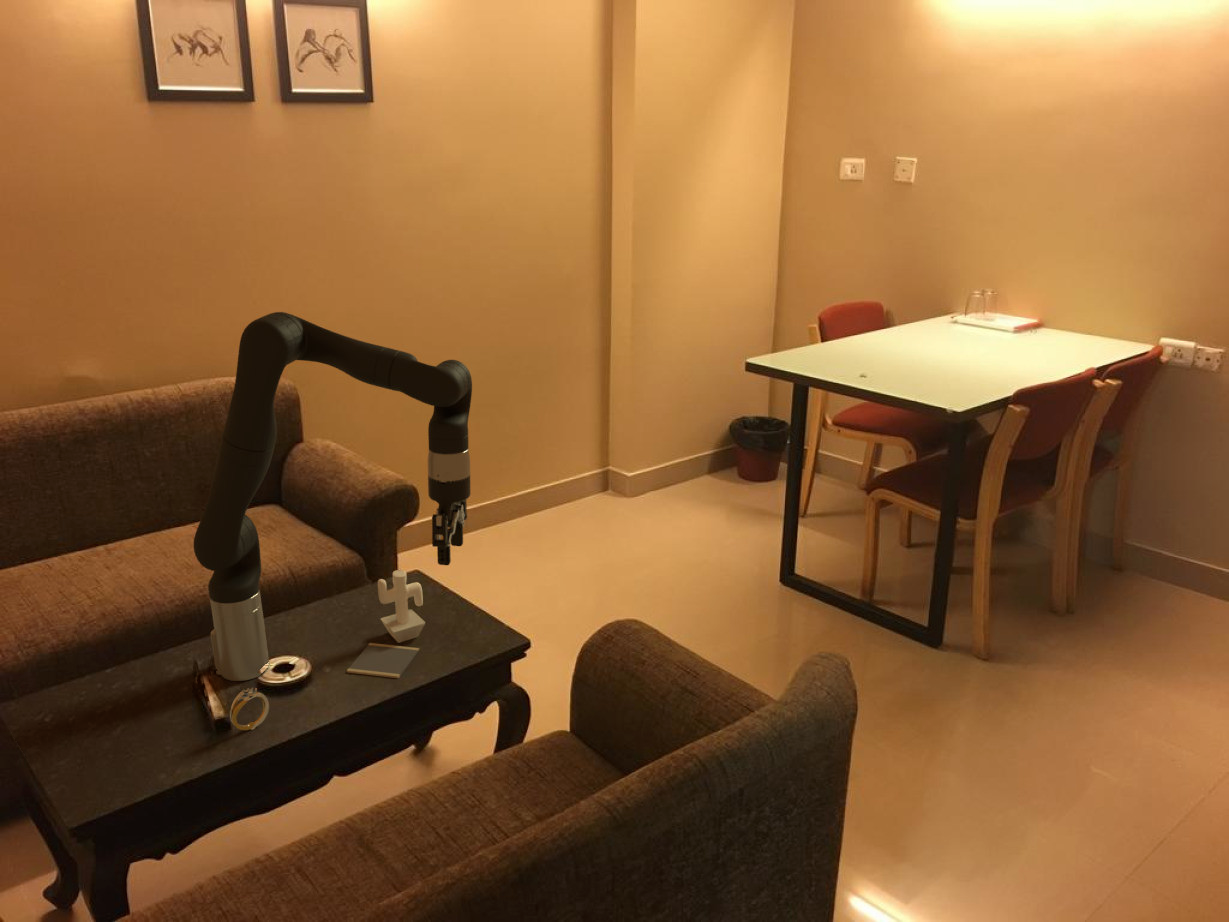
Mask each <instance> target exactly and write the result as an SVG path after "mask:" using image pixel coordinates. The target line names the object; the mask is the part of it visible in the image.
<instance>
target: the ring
mask: <svg viewBox="0 0 1229 922" xmlns="http://www.w3.org/2000/svg"><path fill="white" fill-rule="evenodd" d="M257 689H258V688H256V687H255V688H254V687H251V688H249V687H248V688H247V689H244V688H243V689H241V690H242V691H240V692H239V693H238V694H237V695H236V697H235V698H234V700H233V702H232V704H231V707H230V710H229V718H230V721H231V723H232V725H233V726H234V727H235V728H237V729H238V730H241V731H248V730H251V731H252V730H255V729H256V728H257V727H258V726H260V725H261V724H262V723H263V722H264V720H265V719H266V718H267V716H268V714H269V712H270V711H269V710H270V703H269V700H268V698H267V696H266V695H264V693H262V692H259V691H257ZM253 690H254V691H253ZM253 698H259V699H260V701H261V702H262V705H263V706H262V707H263V708H262V712H261V714H260V715H259V717H258V718H257V719H256V720H255V721H254V722H253V721H251V722H249V723H248V724H246V725H243V724H239V723H238V721H237V719H238V718H237V717H238V714H239V712H240V711H241V709H242V708H243V707H244V706H245V705H246V704H247V703H248V701H250V700H252V699H253ZM240 700H242V701H240ZM239 701H240V702H239Z"/></svg>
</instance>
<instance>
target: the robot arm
mask: <svg viewBox="0 0 1229 922" xmlns="http://www.w3.org/2000/svg"><path fill="white" fill-rule="evenodd" d="M295 361H303V362H304V361H305V362H314V363H320V364H323V365H327V366H330V367H333V368H335V369H337V370H339V371H340V372H343V373H345V374H346V375H348V376H350V377H351V378H354V379H355V380H357V381H359V382H362V383H365V384H367V385H371V386H375V387H377V388H382V389H386V390H390V391H395V392H400V393H402V394H404V395H406V396H408V397H410V398H412V399H414V400H416V401H419V402H421V403H424V404H426V405H428V406H433V412H432V415H431V417H430V420H429V422H428V428H427V431H428V432H427V433H428V435H427V436H428V438H427V439H428V454H427V481H428V482H427V487H428V490H427V491H428V493H427V494H428V498H430V500H432V501H433V502H436V503H437V504H438V507H437V508H436V511H435V514H432V516H431V525H432V526H431V527H432V528H431V531H432V532H431V533H432V534H431V535H432V536H431V539H432V541H431V545H432V547H435V548H436V547H437V548H436V549H437V552H436V553H437V554H436V555H437V564H438V565H440V566H450V563H451V562H452V561H451V546H453V547H462V546H463V545H464V528H463V527H465V524H466V523H465V521H467V519H468V513H467V511H468V510H467V508H468V507H467V499H469V498H470V496H471V458H470V449H469V426H468V425H469V424H468V423H469V416H470V412H471V403H472V397H473V395H472V394H473V380H472V375H471V373H470V370H469V368H468V367H467V366H466V365H465V364H464V363H463V362H462V361H459V360H456V359H447V360H444V361H442V362H440V363H439V364H437V365H435V366H434V365H432V364H431V365H430V364H428V363H427V364H426V363H424V362H420V361H418V359H417V358H416V356H415V355H413V354H411V353H409V352H406V351H402V350H398V349H394V348H392V347H391V348H390V347H386V346H382V345H378V344H374V343H370V342H368V341H367V342H366V341H361V340H359V339H356V338H353V337H349V336H347V335H346V336H345V335H343V334H341V333H337V332H334V331H333V330H329V329H327V328H325V327H321V326H319V325H317V324H315V323H313V322H310V321H308V320H306V319H304V318H301V317H298V316H296V315H294V314H291V313H287V312H284V311H275V312H271V313H268V314H266V315H263V316H260V317H259V318H256V319H254V320H252V321H251V322H249V324H248V325H247V326H246V327H245V328H244V329H243V332H242V334H241V336H240V341H239V346H238V356H237V364H236V365H237V366H236V375H235V382H234V387H233V391H232V396H231V399H230V403H229V407H228V411H227V417H226V420H225V423H224V427H223V431H222V435H221V439H220V443H219V448H218V451H217V452H218V453H217V456H216V457H217V458H216V463H215V467H214V471H213V475H212V480H211V484H210V488H209V489H210V490H209V492H208V493H209V494H208V498H207V501H206V505H205V507H204V510H203V513H202V516H201V518H200V521H199V523H198V526H197V528H196V532H195V535H194V538H193V552H194V555H195V557H196V560H197V561H198V562H199V564H200V565H201V566H202V567H204V568H205V569H206V570H208V571H213V573H212V575H211V578H210V579H209V581H208V586H207V588H208V589H207V590H208V596H209V601H210V607H211V614H212V621H213V627H214V628H213V629H212V630H211V632H210V640H211V645H212V653H213V658H214V664H215V671H216V669H217V671H216V672H215V673H216V675H219V676H221V677H222V678H224V679H225V680H228V681H230V682H231V681H232V682H233V681H234V682H242V681H243V682H244V681H249V680H252V679H256V678H258V677H260V676H262V675H261V674H260V672H259V673H258V671H259V670H260V669H261V668H262V667H263V666H264V665H265V664H267V663H268V662H269V663H270V660H269V659H270V658H269V651H268V643H267V637H266V636H267V634H266V628H265V619H264V613H263V612H264V611H263V604H262V598H261V591H260V590H261V589H260V578H261V575H262V561H261V549H260V546H261V545H260V540H259V539H260V538H259V533H258V530H257V527H256V525H255V523H254V521H253V520H252V518H250V517H249V516H248V515H247V514H246V513H247V510H248V508H249V506H250V503H251V502H252V500H253V498H254V497H255V495H256V493H257V492H258V490H259V488H260V486H261V485H262V484H263V483H262V482H263V481H264V479H265V477H266V475H267V473H268V470H269V468H270V465H271V462H272V459H273V456H274V451H275V447H276V443H277V436H278V425H277V419H276V413H275V407H274V406H275V397H276V393H277V389H278V388H279V387H278V386H279V383H280V380H281V377H282V374H283V372H284V370H285V368H286V366H288V365H289V364H291V363H294V362H295ZM441 537H442V538H441Z"/></svg>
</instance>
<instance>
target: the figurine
mask: <svg viewBox="0 0 1229 922" xmlns="http://www.w3.org/2000/svg"><path fill="white" fill-rule="evenodd" d="M407 577H408V576H407V572H406V571H404V570H403V571H402V570H401V569H396V570H394V571H393V572H392V584H393V587H392V588H389V589H388V588H387V582H386V580H385V579H383V578H379V579H378V580H377V591H378V592H377V593H378V594H377V595H378V600H379V602H380V604H382V605H387V604H391V603H394V606H395V613H394V614H391V615H388V616H384V617H381V618H379V619H380V621H381V622H382V624H383V626H384V627H385V628H386V630H387V632H388V633H389V635H390V636H391V637H392V638H393V639H394V640H395V641H396V642H397V643H398V644H399V643H402V642H406V641H409V640H412V639H416V638H418V637H419V635H420V633H421V632H422V630H423V628H424V626H425V625H426V622H425V620H423V619H422V618H421V617H420V616H419V615H418V614H417V613H416V612H415V611H414V610H413V609H409V603H408V599H409V598H412V597H413V599H414V604H415V606H417V607H421V606H423V604H424V600H423V599H424V598H423V597H424V596H423V589H422V588H423V587H422V585H421V584H420V583H419V582H417V581H416V582H411V583H408V584H407Z"/></svg>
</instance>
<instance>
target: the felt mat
mask: <svg viewBox="0 0 1229 922" xmlns="http://www.w3.org/2000/svg"><path fill="white" fill-rule="evenodd" d="M418 652H420V648H419V647H413V646H412V647H409V646H400V645H392V644H384V643H383V644H382V643H374V642H369V643H368V645H367V646H366V647H365V648H364V649H363V651H362V652H361V653H360V654H359V656H357V658H356V659H355V660H354V661H353V663H352V664H351V665H350V666H349V667H347V669H346V673H349V674H358V675H368V676H374V677H375V676H376V677H385V678H393V679H399V678H400V677H401V675H402V674H403V673H404V672H405V671H406V669H407V668H408V666H409V665H410V664H411V662H412V661H413V659H414V658H415V657H416V655H417V654H418Z"/></svg>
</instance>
